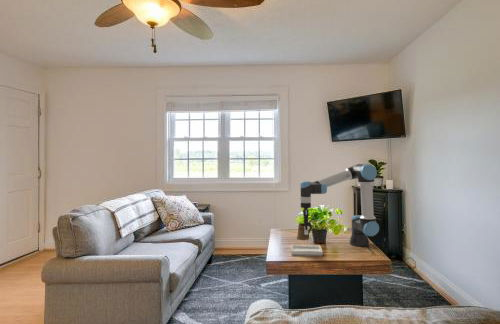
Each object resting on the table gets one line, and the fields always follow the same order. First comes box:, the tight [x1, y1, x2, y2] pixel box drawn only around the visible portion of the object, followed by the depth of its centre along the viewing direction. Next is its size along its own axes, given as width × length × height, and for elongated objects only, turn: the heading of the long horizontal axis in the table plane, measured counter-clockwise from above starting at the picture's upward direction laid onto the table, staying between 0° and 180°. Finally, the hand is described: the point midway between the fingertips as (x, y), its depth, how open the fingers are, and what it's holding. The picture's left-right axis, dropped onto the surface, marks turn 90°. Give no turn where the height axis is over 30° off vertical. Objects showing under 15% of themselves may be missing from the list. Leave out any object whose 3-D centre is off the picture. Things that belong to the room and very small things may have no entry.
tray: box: [290, 244, 324, 257], centre depth 230 cm, size 22×16×3 cm
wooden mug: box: [296, 215, 316, 241], centre depth 230 cm, size 9×14×18 cm, turn 71°
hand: (305, 233), depth 230 cm, fingers closed on wooden mug, 7 cm apart
